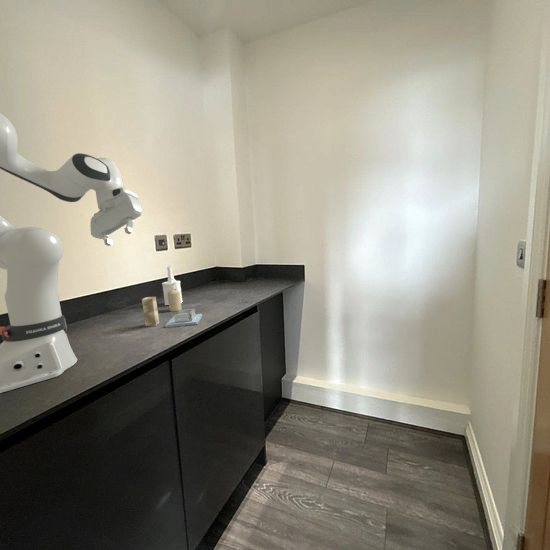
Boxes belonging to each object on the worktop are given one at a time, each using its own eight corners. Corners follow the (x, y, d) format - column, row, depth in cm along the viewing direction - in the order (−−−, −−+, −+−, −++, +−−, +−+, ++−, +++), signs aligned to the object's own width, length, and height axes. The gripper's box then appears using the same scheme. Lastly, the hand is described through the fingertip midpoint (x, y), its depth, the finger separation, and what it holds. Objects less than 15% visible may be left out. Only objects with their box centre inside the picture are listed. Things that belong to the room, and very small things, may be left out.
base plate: (173, 318, 124) (173, 316, 124) (202, 315, 125) (201, 313, 124) (165, 327, 112) (165, 325, 112) (196, 324, 113) (196, 322, 113)
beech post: (145, 326, 115) (141, 299, 114) (149, 323, 119) (145, 297, 118) (156, 325, 116) (152, 298, 114) (159, 322, 119) (155, 296, 118)
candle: (177, 311, 136) (175, 290, 135) (167, 311, 137) (164, 290, 136) (183, 308, 141) (181, 288, 140) (173, 308, 142) (171, 288, 141)
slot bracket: (179, 317, 122) (178, 310, 121) (195, 315, 122) (194, 308, 122) (174, 322, 114) (174, 315, 114) (192, 320, 115) (191, 313, 114)
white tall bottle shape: (161, 304, 153) (156, 267, 151) (177, 300, 160) (173, 264, 157) (170, 307, 146) (165, 267, 143) (187, 302, 152) (182, 265, 150)
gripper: (82, 213, 99) (88, 249, 95) (125, 185, 93) (133, 222, 89) (100, 219, 105) (105, 253, 101) (141, 192, 98) (149, 228, 95)
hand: (118, 238), depth 95 cm, fingers open, 8 cm apart
